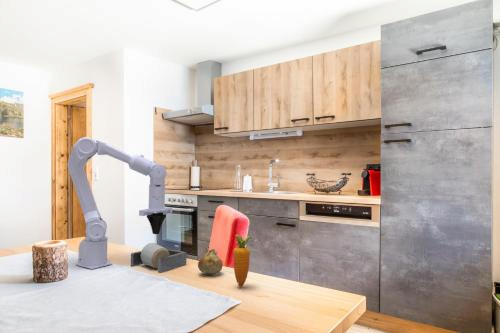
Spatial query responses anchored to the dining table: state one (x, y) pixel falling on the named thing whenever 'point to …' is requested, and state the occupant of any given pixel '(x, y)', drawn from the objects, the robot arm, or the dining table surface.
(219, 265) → the onion
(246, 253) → the carrot
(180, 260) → the grey u-shaped piece
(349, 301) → the dining table surface
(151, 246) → the ceramic mug
